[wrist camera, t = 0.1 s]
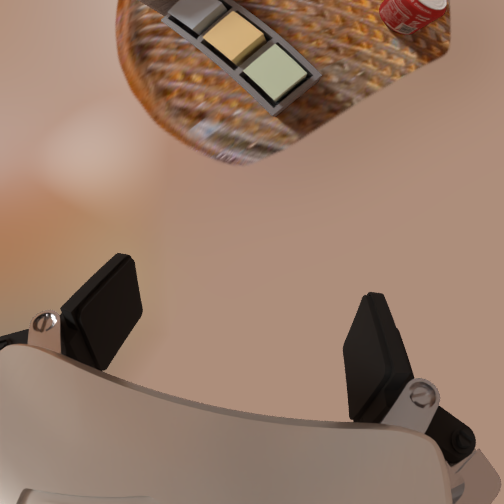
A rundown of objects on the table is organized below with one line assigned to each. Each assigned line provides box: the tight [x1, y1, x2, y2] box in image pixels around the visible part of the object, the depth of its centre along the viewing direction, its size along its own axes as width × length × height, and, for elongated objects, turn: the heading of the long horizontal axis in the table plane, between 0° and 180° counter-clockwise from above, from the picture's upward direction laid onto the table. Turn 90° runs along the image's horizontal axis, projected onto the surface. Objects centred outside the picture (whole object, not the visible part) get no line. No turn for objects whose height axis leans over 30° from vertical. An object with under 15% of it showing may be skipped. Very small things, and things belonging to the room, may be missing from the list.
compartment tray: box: [161, 0, 322, 117], centre depth 28 cm, size 8×21×6 cm, turn 43°
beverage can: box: [379, 0, 447, 35], centre depth 18 cm, size 6×6×12 cm
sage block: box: [243, 44, 307, 103], centre depth 27 cm, size 5×5×5 cm
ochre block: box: [203, 11, 267, 67], centre depth 25 cm, size 5×5×5 cm
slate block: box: [168, 0, 228, 35], centre depth 24 cm, size 5×5×5 cm
